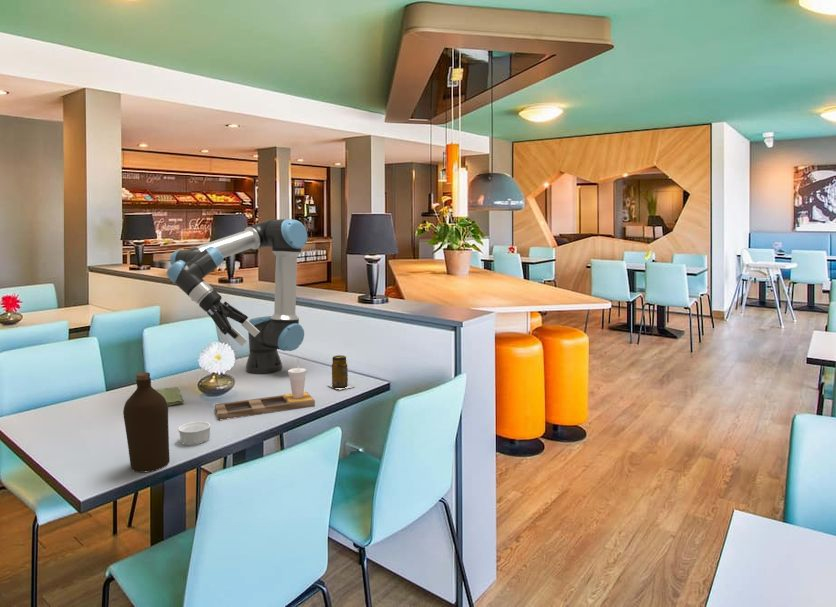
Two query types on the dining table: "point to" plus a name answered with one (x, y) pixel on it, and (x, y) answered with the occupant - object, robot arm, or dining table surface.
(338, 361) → the condiment
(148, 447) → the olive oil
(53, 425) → the dining table surface
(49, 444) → the dining table surface
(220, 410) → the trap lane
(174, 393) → the washcloth
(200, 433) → the ramekin
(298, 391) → the smoothie
